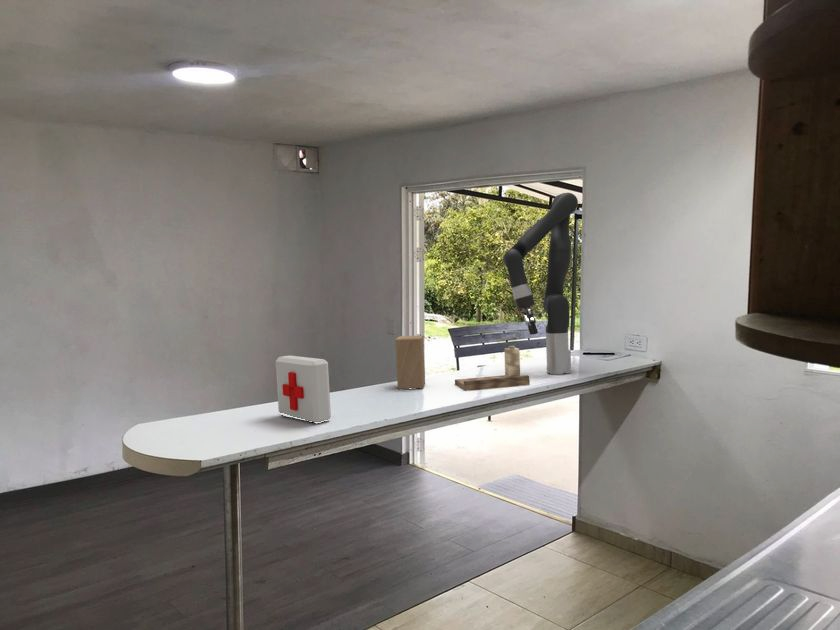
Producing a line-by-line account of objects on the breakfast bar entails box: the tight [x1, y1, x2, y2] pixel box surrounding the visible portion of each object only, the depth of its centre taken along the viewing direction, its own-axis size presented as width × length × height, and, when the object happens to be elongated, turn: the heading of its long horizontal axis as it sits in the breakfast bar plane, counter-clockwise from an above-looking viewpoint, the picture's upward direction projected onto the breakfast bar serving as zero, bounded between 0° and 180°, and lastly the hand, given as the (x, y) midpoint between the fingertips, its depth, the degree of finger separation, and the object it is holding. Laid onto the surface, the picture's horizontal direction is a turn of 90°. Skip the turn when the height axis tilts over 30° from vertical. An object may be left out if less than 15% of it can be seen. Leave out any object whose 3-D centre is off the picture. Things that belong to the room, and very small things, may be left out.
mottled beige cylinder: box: [503, 345, 521, 377], centre depth 258 cm, size 4×4×13 cm
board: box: [454, 374, 531, 392], centre depth 259 cm, size 26×14×4 cm, turn 104°
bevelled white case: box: [275, 355, 332, 422], centre depth 214 cm, size 21×8×20 cm, turn 46°
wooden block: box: [395, 335, 426, 390], centre depth 261 cm, size 10×10×20 cm
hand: (534, 334), depth 272 cm, fingers open, 8 cm apart
